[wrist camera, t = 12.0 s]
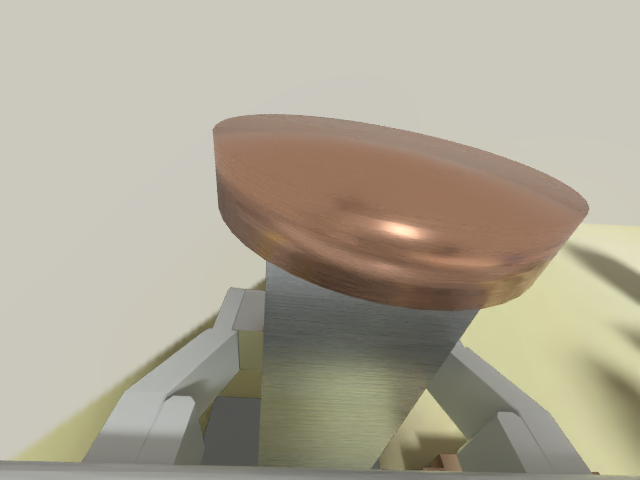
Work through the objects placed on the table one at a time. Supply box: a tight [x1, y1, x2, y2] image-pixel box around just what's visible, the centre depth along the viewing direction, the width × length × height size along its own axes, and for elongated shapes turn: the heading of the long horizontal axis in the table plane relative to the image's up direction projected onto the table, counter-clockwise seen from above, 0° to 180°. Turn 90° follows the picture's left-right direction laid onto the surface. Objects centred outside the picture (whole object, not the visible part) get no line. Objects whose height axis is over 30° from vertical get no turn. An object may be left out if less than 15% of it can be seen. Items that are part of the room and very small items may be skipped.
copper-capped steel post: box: [213, 114, 589, 469], centre depth 8 cm, size 6×6×12 cm
